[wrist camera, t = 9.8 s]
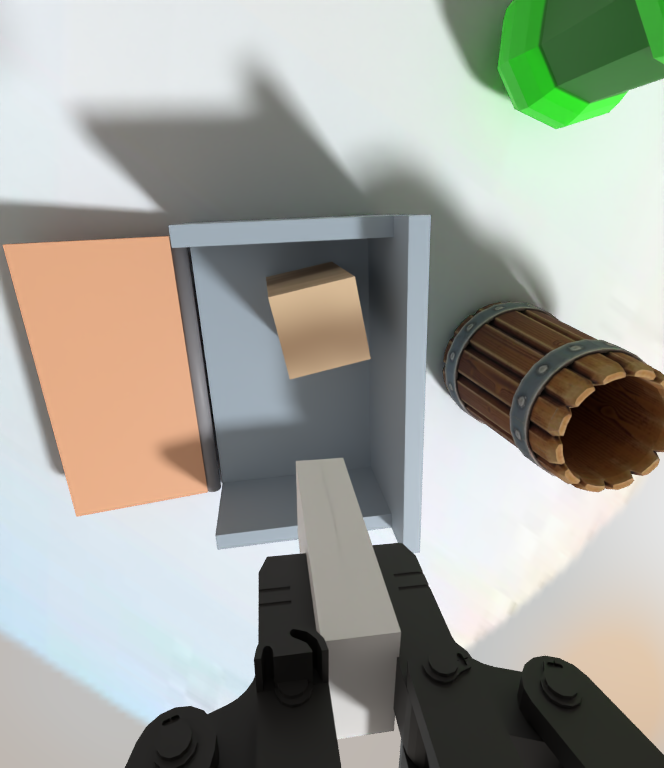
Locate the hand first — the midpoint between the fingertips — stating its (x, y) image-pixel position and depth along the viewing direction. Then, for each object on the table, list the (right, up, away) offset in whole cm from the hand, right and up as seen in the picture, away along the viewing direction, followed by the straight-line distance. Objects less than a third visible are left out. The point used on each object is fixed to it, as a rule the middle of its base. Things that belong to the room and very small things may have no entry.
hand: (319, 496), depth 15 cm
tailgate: (-10, +4, +21) cm, 24 cm away
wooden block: (-2, +10, +20) cm, 23 cm away
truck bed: (-3, +6, +23) cm, 24 cm away
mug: (+17, +5, +27) cm, 32 cm away
